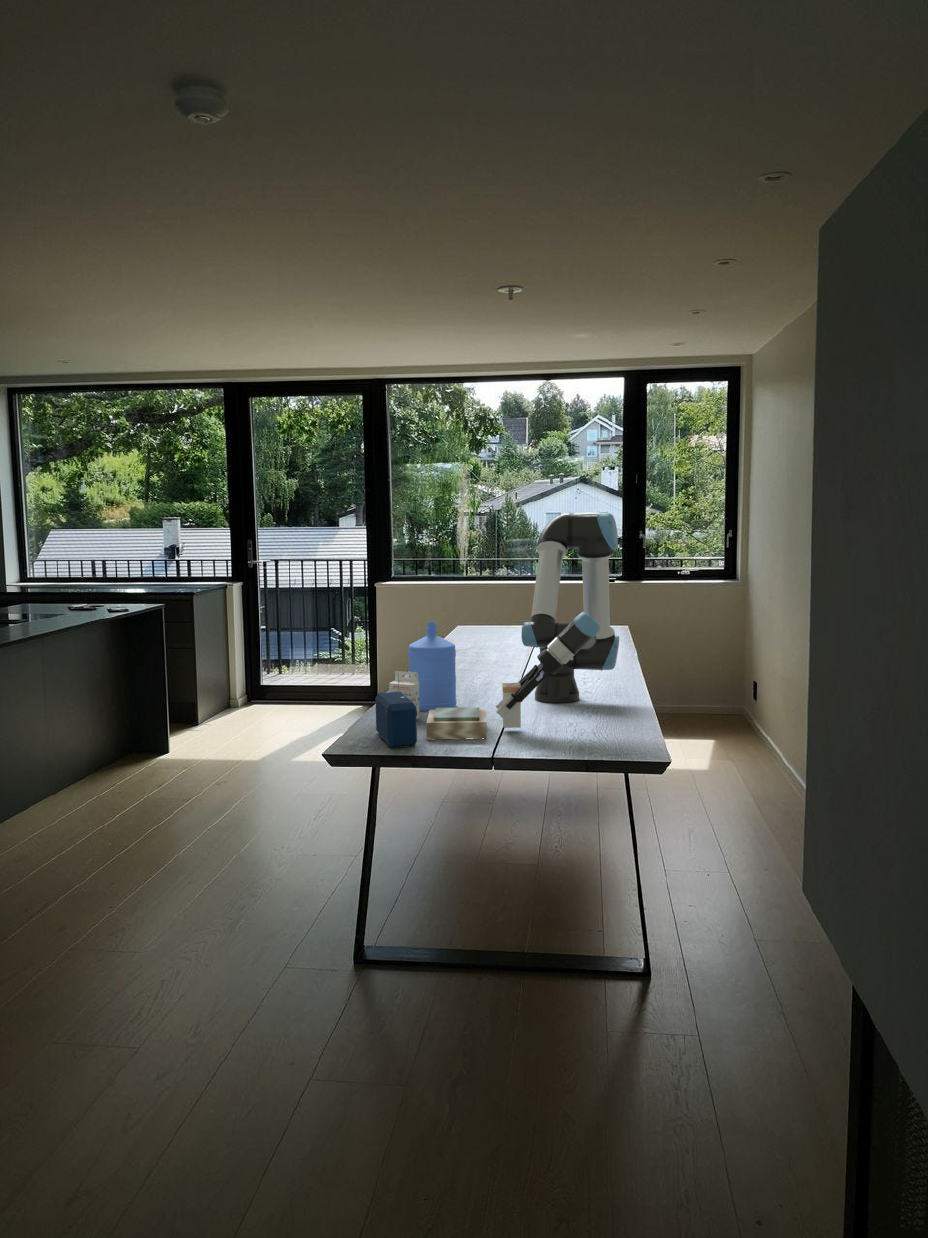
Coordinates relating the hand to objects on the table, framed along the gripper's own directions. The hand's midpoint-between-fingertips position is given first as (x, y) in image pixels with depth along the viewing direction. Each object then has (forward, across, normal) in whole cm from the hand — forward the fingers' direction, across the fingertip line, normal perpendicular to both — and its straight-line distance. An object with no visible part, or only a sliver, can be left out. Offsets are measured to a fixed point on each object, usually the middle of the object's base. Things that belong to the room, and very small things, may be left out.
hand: (499, 712), depth 269 cm
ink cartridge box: (+25, +17, +16) cm, 35 cm away
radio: (+25, -9, +16) cm, 31 cm away
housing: (0, 0, -5) cm, 5 cm away
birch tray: (+13, -1, +5) cm, 14 cm away
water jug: (+19, +34, +11) cm, 41 cm away
